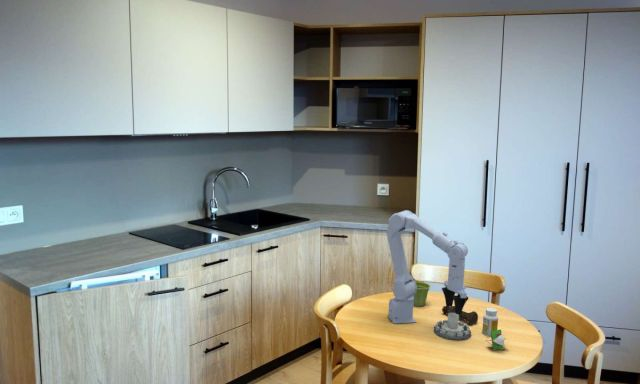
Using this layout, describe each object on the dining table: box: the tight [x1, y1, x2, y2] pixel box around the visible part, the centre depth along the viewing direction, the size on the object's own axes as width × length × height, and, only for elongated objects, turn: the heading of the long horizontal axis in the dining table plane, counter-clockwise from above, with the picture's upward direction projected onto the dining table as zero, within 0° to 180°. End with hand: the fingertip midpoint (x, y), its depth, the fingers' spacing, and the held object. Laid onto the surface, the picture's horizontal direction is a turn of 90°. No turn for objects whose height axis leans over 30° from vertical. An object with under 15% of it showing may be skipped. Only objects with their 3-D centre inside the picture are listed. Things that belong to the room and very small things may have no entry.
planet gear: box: [441, 313, 464, 335], centre depth 202 cm, size 8×8×6 cm
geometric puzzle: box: [485, 329, 505, 351], centre depth 190 cm, size 7×7×8 cm
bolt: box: [441, 305, 479, 326], centre depth 217 cm, size 6×5×15 cm
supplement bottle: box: [481, 307, 499, 337], centre depth 202 cm, size 5×5×10 cm
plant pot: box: [413, 281, 431, 307], centre depth 232 cm, size 9×9×9 cm
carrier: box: [433, 319, 472, 341], centre depth 203 cm, size 14×14×2 cm
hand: (453, 309), depth 201 cm, fingers open, 7 cm apart
